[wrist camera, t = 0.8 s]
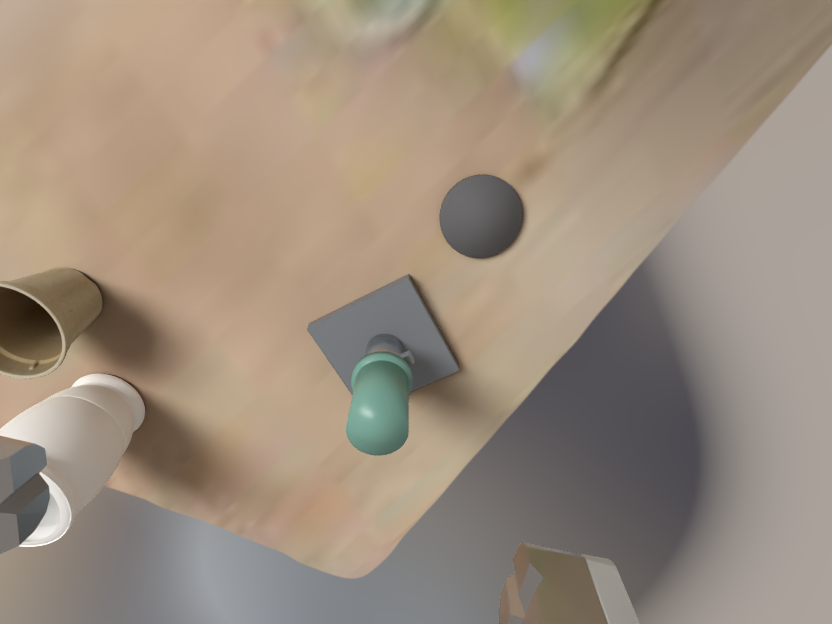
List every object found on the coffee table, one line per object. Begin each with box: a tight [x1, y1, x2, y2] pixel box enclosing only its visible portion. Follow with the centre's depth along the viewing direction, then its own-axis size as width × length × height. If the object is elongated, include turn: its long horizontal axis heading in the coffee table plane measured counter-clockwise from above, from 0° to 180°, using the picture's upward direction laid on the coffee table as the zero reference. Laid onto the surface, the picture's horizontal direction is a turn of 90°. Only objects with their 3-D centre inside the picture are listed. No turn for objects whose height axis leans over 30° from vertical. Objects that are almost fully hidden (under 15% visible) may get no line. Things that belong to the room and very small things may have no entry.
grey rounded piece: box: [365, 334, 414, 365], centre depth 47 cm, size 4×6×6 cm, turn 117°
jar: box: [0, 374, 145, 547], centre depth 47 cm, size 11×10×15 cm
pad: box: [440, 175, 523, 258], centre depth 45 cm, size 8×8×1 cm
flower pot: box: [0, 268, 103, 379], centre depth 44 cm, size 9×9×9 cm
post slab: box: [307, 274, 459, 396], centre depth 50 cm, size 12×12×2 cm
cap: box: [346, 351, 413, 455], centre depth 41 cm, size 6×6×8 cm
